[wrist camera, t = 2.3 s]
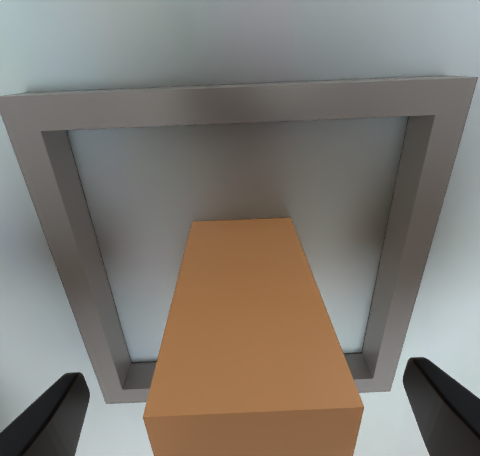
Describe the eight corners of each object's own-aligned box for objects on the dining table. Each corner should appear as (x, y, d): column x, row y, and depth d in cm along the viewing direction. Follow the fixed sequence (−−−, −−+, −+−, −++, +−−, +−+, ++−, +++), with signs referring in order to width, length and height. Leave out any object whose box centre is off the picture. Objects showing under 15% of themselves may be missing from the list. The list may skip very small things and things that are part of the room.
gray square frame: (116, 377, 17) (106, 403, 16) (24, 92, 10) (-6, 97, 9) (377, 365, 17) (390, 391, 16) (446, 75, 11) (477, 77, 9)
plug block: (201, 299, 15) (172, 520, 8) (192, 221, 13) (142, 417, 6) (287, 295, 15) (340, 512, 8) (290, 217, 13) (364, 407, 6)
